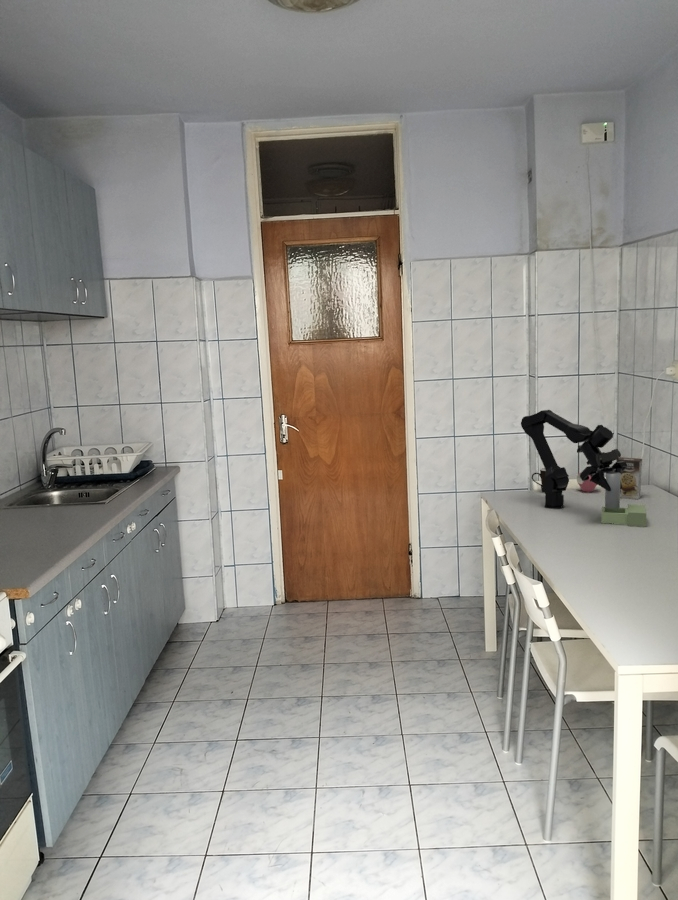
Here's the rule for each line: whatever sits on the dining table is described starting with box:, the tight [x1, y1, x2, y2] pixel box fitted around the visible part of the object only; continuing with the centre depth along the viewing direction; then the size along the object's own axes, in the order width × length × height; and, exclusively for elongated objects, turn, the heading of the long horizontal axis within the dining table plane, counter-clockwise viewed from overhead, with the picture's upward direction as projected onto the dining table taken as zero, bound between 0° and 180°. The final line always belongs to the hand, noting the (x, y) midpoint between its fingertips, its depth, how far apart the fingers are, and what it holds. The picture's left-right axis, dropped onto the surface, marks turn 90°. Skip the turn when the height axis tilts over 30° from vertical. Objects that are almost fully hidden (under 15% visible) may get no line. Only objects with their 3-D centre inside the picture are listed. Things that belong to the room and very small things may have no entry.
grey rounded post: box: [604, 472, 621, 509], centre depth 267 cm, size 5×5×12 cm
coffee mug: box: [531, 467, 546, 487], centre depth 318 cm, size 12×9×10 cm
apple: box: [576, 472, 598, 493], centre depth 316 cm, size 10×9×10 cm
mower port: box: [600, 504, 647, 528], centre depth 269 cm, size 15×12×5 cm
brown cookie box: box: [616, 456, 643, 500], centre depth 303 cm, size 9×6×16 cm
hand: (615, 489), depth 265 cm, fingers closed on grey rounded post, 5 cm apart
